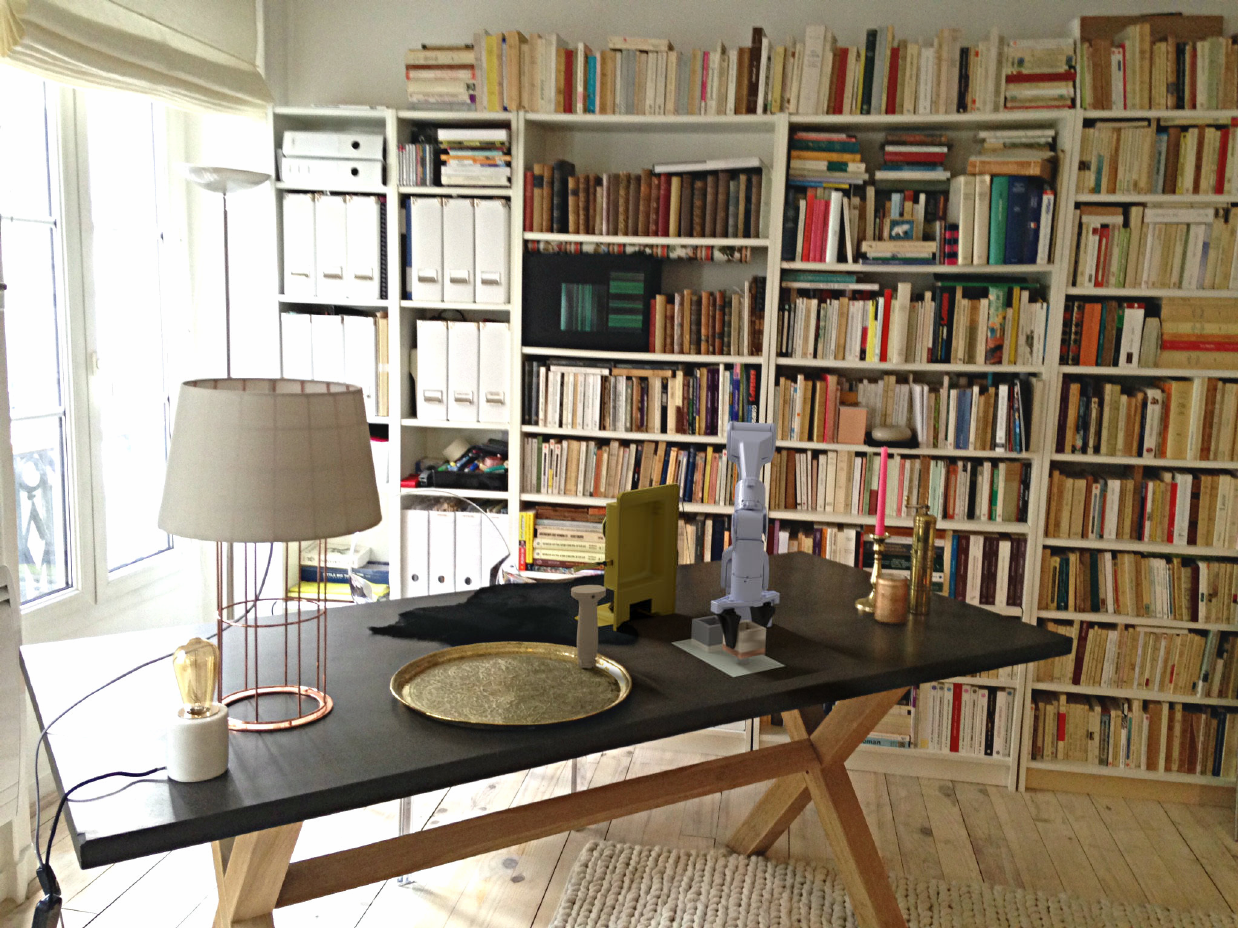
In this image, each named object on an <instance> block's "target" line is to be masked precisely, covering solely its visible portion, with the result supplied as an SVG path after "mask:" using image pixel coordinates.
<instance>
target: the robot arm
mask: <svg viewBox="0 0 1238 928" xmlns="http://www.w3.org/2000/svg"><path fill="white" fill-rule="evenodd" d="M776 444H777V426H776V424H775V423H774V422H770V423H764V422H761V423H760V422H740V421H733V420H730V421H729V422H727V426H726V445H725V446H726V448H725V449H726V458H727V461H729V462H730V463H733V464H735V465H736V469H737V472H738V482H737V483H735V488H734V508H733V509H734V511H733V512H732V514H731V532H730V536H731V542H732V543H731V545H730V546H729V547H727V548H726V549H724V550H723V552H722V553H721V554H722V555H721V562H720V582H719V583H720V584H719V585H720V587H721V588H722V589H724V590H725V596H723V597H720V598H718V599H715V600H711V601H710V611H711V612H713V613H714V615H716V616H717V617H718V620H719V622H720V624H721V627H722V630H723V634H724V638H725V644H726V646H727V647H729V648H731V649H735V647H736V641H737V631H738V626H739V623H740V621H743V620H749V621H751V622H754V623H756V624H758V625H760V626H762V627H764V628H766V629H767V628H770V627H772V622H773V617H774V615H775V613H776V612H777V611H776V610H777V609H776V608H777V607H775V606H774V605H775V604H776V605H777V604H779V603H780V595H781V594H780V593H779V592H777V591H775V590H767V589H768V588H769V580H770V579H769V578H770V577H769V576H770V565H769V564H770V563H769V559H770V557H769V555H768V552H767V551H766V550H765V543H766V542H767V538H768V533H769V532H768V531H769V530H768V529H769V516H768V515H769V514H768V510H767V509H768V508H767V506H766V486H765V484H764V482H763V481H761V480H760V478H761V470H762V468H763V467H764V465H767V464H769V463H770V464H771V462H772V461H773V458H774V456H775V452H776ZM763 536H764V540H763ZM773 604H774V605H773Z"/></svg>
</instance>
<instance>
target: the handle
mask: <svg viewBox="0 0 1238 928" xmlns="http://www.w3.org/2000/svg"><path fill="white" fill-rule="evenodd" d="M570 591H571V593H570V595H571V597H572V598H573V599H575V600H576V601H578V615H579V618H578V621H577V633H576V651H577V652H576V653H577V658H578V659H577V664H578V666H579V667H580V668H581V669H592V668H594V667H596V664H597V655H598V649H599V626H598V620H597V606H598V602H599V601H600V600H601V599H602V598H604V597H606V594H607V593H606V592H607V588H605V587H604V585H603V586H602V585H599V584H584V585H576V586H573V587H572V588H571V589H570Z"/></svg>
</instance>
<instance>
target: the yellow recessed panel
mask: <svg viewBox="0 0 1238 928" xmlns="http://www.w3.org/2000/svg"><path fill="white" fill-rule="evenodd" d="M680 489H681V486H680V485H679V483H676V482H673V483H668V484H661V485H660V484H659V485H656V486H649V487H645V488H637V489H632V490H627V491H621V492H618V494H617V495H616V501H612V502H606V503H605V517H604V519H603V521H602V523H601V533H602V536H603V538H604V539H605V540H604V560H598V561H595V562H591V563H589V564H585V565H578V566H572V571H573V574H576V573H578V572H581V571H584V570H588V569H594V568H595V569H596V568H598V567H599V568H600V567H601V566H603V567H604V570H603V571H604V575H603V576H604V577H603V578H604V579H603V581H604V583H603V587H605V588H606V589H607V590H608V589H609V590H611V591H613V594H614V595H613V600H612V601H611V602H608V603H605V604H601V605H597V620H598V627H603V626H609V625H612V629H613V631H614V632H617V628H618V627H620V626H621V625H622V623H623V622H627V621H629V620H630V611H636V610H638V611H637V612H640V613H642V614H646V615H649V616H651V617H655V618H656V617H657V618H658V617H663V616H667V615H668V616H669V615H674V614H676V598H677V597H676V596H677V574H678V573H677V572H678V567H679V558H680V555H679V553H680V552H679V548H678V545H679V522H680V521H679V519H680V518H679V516H680V501H681V505H682V513H683V515H682V516H683V521H684V522H683V523H684V527H685V534H686V535H685V536H686V542H687V544H689V539H688V531H687V522H686V515H685V506H684V501H683V499H682V497H681V496H680V491H681V490H680ZM687 549H688V558H689V559H691V555H690V547H689V545H687ZM689 564H690V566H692V561H691V560H689ZM690 570H691V573H693V569H692V568H690ZM690 576H691V574H689V575H688V576H686V578H685V580H686V579H688V578H689V577H690ZM682 583H683V581H681V582H680V583H679V584H678V586H679V585H681V584H682ZM634 609H636V610H634ZM578 618H579V614H578V615H577V616H575V617H574V619H575V620H576V621H577V622H578Z"/></svg>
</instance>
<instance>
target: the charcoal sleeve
mask: <svg viewBox="0 0 1238 928" xmlns="http://www.w3.org/2000/svg"><path fill="white" fill-rule="evenodd" d="M690 639H691V644H693V645H695V646H697V647H698V648H700V649H702V650H704V651H706V652H708V653H709V652H714V651H719V650H722V649H723V630H722V627H721V624H720V622H719V620H718V617H717V616H716V614H714V615H709V616H704V617H703V616H701V617H697V618H692V619H691V638H690Z"/></svg>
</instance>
